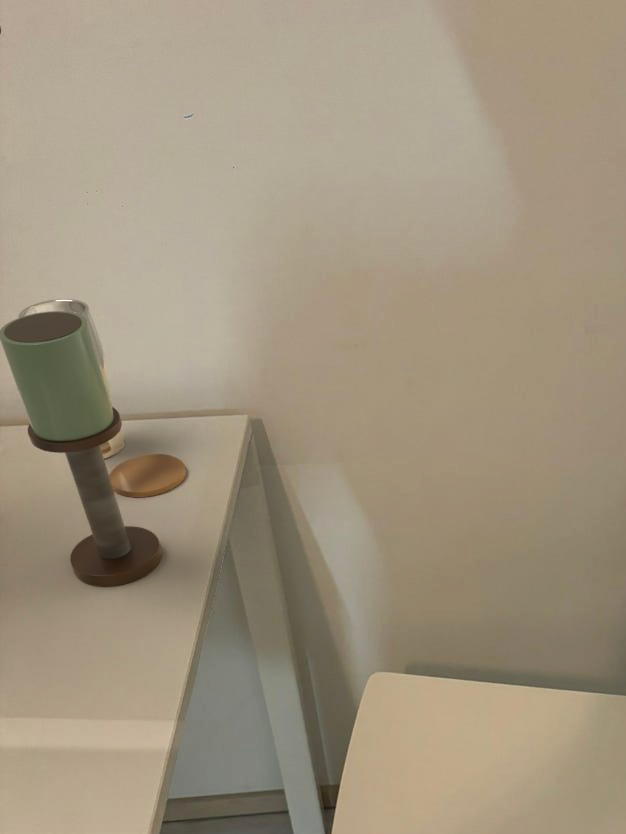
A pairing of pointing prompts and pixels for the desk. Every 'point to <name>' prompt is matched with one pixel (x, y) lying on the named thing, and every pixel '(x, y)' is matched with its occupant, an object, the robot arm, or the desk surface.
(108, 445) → the beer glass
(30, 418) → the cup
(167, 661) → the desk surface
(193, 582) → the desk surface
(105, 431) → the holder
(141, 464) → the coaster
